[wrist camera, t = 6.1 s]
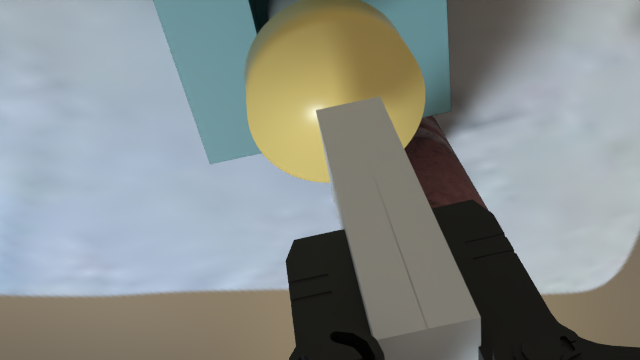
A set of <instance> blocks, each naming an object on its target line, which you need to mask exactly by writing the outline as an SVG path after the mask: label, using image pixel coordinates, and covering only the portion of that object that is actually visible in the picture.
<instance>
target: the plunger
mask: <svg viewBox="0 0 640 360" xmlns="http://www.w3.org/2000/svg"><path fill="white" fill-rule="evenodd" d="M267 15H268V22H267V23H266V24H265V25H264V26H263V27H262V29H261V30H260V31H259V33H258V34H257V36H256V37H255V39H254V41H253V43H252V45H251V47H250V50H249V52H248V55H247V59H246V64H245V73H244V77H245V93H246V107H247V119H248V124H249V129H250V132H251V134H252V137H253V139H254V141H255V143H256V145H257V147H258V148H259V149H260V151H261V152H262V153H263V155H264V156H265V157H266V158H267V159H268V160H269V161H270V162H271V163H273V164H274V165H275V166H277V167H278V168H279V169H281V170H283V171H284V172H286V173H288V174H290V175H293V176H295V177H297V178H301V179H304V180H308V181H315V182H327V183H330V179H329V174H328V169H327V164H326V159H325V154H324V149H323V144H322V139H321V134H320V129H319V124H318V119H317V114H316V110H319V109H324V108H328V107H333V106H337V105H342V104H347V103H351V102H356V101H360V100H365V99H370V98H374V97H379V96H380V97H381V99H382V102H383V104H384V106H385V108H386V110H387V113H388V115H389V117H390V119H391V121H392V123H393V126H394V128H395V130H396V132H397V134H398V137H399V139H400V141H401V143H402V145H403V148H405V147H406V146H407V145H408V143H409V142H410V141H411V139H412V138H413V136H414V134H415V133H416V131H417V129H418V126H419V124H420V122H421V119H422V115H423V112H424V106H425V84H424V79H423V75H422V72H421V69H420V67H419V65H418V63H417V61H416V59H415V58H414V56H413V54H412V53H411V51H410V50H409V48H408V47H407V45H406V43H405V42H404V40H403V39H402V37H401V36H400V34H399V32H398V31H397V29H396V28H395V27H394V25H393V24H392V22H391V21H390V20H389V19H388V18H387V17H386V16H385V15H384V14H383V13H381V12H380V11H379V10H378V9H376V8H375V7H373V6H371V5H369V4H368V3H365V2H363V1H361V0H269V2H268V8H267Z"/></svg>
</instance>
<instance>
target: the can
mask: <svg viewBox="0 0 640 360" xmlns="http://www.w3.org/2000/svg"><path fill="white" fill-rule="evenodd" d="M404 150H405V152H406V154H407V156H408V159H409V161H410V163H411V165H412V167H413V170H414V172H415V174H416V176H417V178H418V181H419V183H420V185H421V187H422V189H423V192H424V194H425V196H426V198H427V200H428V203H429V205H430V207H431V208H435V207H440V206H445V205H449V204H454V203H458V202H463V201H467V200H472V199H473V200H474V201H476V202H477V203H478V204H480V205H481V206H483V207H484V208H485V209H487V207H486V206H485V204H484V202H483V200H482V199H481V197H480V195H479V194H478V192H477V190H476V188H475V187H474V185H473V183H472V182H471V180H470V178H469V176H468V175H467V173H466V171H465V170H464V168H463V166H462V165H461V163H460V161H459V159H458V158H457V156H456V154H455V153H454V151H453V149H452V147H451V146H450V144H449V142H448V141H447V139H446V137H445V135H444V134H443V132H442V130H441V129H440V127H439V125H438V124H437V122H436V120H435V119H434V118H433V117H432V116H427V117H423V118H422V119H421V122H420V124H419V126H418V129H417V131H416V133H415V134H414V136H413V138H412V139H411V141H410V142H409V143H408V145H407V146H406V147H405V148H404ZM487 210H488V209H487Z"/></svg>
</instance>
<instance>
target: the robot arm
mask: <svg viewBox="0 0 640 360" xmlns="http://www.w3.org/2000/svg"><path fill="white" fill-rule="evenodd" d="M316 114H317V119H318V124H319V129H320V134H321V139H322V144H323V149H324V154H325V159H326V164H327V169H328V174H329V179H330V183H331V188H332V193H333V198H334V203H335V207H336V211H337V215H338V219H339V223H340V228H341V230H338V231H333V232H329V233H324V234H319V235H315V236H310V237H306V238H301V239H296V240H294V242H293V244H292V247H291V249H290V252H289V254H288V257H287V259H286V267H287V275H288V283H289V291H290V300H291V307H292V316H293V324H294V332H295V341H296V347H295V349H294V351H293V353H292V354H291V356H290V358H289V360H640V348H637V347H623V346H611V345H604V344H598V343H594V342H591V341H588V340H585V339H583V338H581V337H579V336H578V335H577V334H576V333H575V332H574V331H572V330H570V329H568V328H566V327H565V326H563V325H561V324H560V323H559V322H558V321H557V320H556V319H555V318H554V316H553V315H552V314H551V312H550V311H549V309H548V307H547V305H546V304H545V302H544V300H543V299H542V297H541V295H540V293H539V292H538V290H537V288H536V287H535V285H534V283H533V281H532V280H531V278H530V276H529V275H528V273H527V271H526V269H525V268H524V266H523V264H522V263H521V261H520V259H519V257H518V256H517V254H516V253H514V249H513V247H512V246H511V244H510V242H509V240H508V239H507V237H505V235H504V232H503V230H502V228H501V227H500V225H499V223H498V222H497V220H496V218H495V216H494V215H493V214H492V213H491V212H490V211H488V210H487V209H485V208H484V207H483V206H481V205H480V204H478V203H477V202H476V201H474V200H473V199H472V200H467V201H463V202H458V203H454V204H449V205H445V206H440V207H435V208H431V207H430V205H429V203H428V200H427V198H426V196H425V194H424V192H423V189H422V187H421V185H420V183H419V181H418V178H417V176H416V174H415V172H414V170H413V167H412V165H411V163H410V161H409V159H408V156H407V154H406V152H405V150H404V148H403V145H402V143H401V141H400V139H399V137H398V134H397V132H396V130H395V128H394V126H393V123H392V121H391V119H390V117H389V115H388V113H387V110H386V108H385V106H384V104H383V102H382V99H381V97H380V96H379V97H374V98H370V99H365V100H360V101H356V102H351V103H347V104H342V105H337V106H333V107H328V108H324V109H319V110H316Z"/></svg>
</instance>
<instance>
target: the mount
mask: <svg viewBox="0 0 640 360" xmlns="http://www.w3.org/2000/svg"><path fill="white" fill-rule="evenodd" d="M361 1H363V2H365V3H368V4H369V5H371V6H373V7H375V8H376V9H378V10H379V11H380V12H381V13H383V14H384V15H385V16H386V17H387V18H388V19H389V20H390V21H391V22H392V24H393V25H394V27H395V28H396V29H397V31H398V32H399V34H400V36H401V37H402V39H403V40H404V42H405V43H406V45H407V47H408V48H409V50H410V51H411V53H412V54H413V56H414V58H415V59H416V61H417V63H418V65H419V67H420V69H421V72H422V75H423V79H424V84H425V106H424V112H423V115H422V118H423V117H427V116H432V115H437V114H441V113H446V112H450V111H451V94H450V71H449V48H448V25H447V2H446V0H361ZM153 2H154V5H155V7H156V10H157V13H158V16H159V19H160V22H161V25H162V28H163V30H164V33H165V36H166V39H167V42H168V45H169V48H170V51H171V53H172V56H173V59H174V62H175V65H176V68H177V71H178V74H179V76H180V79H181V82H182V85H183V88H184V91H185V94H186V97H187V99H188V102H189V105H190V108H191V111H192V114H193V117H194V120H195V122H196V125H197V128H198V131H199V134H200V137H201V140H202V143H203V145H204V148H205V151H206V154H207V157H208V160H209V163H210V164H214V163H218V162H223V161H227V160H232V159H237V158H241V157H246V156H250V155H255V154H259V153H262V152H261V151H260V149H259V148H258V147H257V145H256V143H255V141H254V139H253V137H252V134H251V132H250V129H249V124H248V119H247V107H246V93H245V77H244V73H245V64H246V59H247V55H248V52H249V50H250V47H251V45H252V43H253V41H254V39H255V37H256V36H257V34H258V33H259V31H260V30H261V29H262V27H263V26H264V25H265V24H266V23H267V22H268V15H267V8H268V2H269V0H153Z"/></svg>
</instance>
